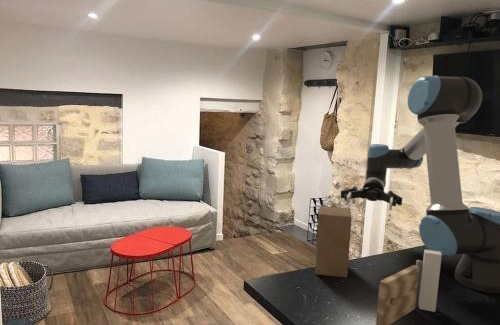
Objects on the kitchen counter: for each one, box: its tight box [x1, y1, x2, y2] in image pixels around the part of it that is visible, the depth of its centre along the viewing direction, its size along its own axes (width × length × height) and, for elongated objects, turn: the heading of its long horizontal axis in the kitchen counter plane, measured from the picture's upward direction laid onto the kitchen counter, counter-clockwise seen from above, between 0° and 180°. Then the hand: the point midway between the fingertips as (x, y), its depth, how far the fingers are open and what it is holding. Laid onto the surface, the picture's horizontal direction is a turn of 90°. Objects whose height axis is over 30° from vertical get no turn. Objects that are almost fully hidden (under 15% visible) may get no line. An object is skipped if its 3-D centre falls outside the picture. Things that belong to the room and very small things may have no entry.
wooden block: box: [314, 205, 353, 278], centre depth 129 cm, size 10×10×20 cm
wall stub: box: [415, 249, 443, 313], centre depth 107 cm, size 6×2×16 cm, turn 70°
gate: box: [375, 264, 419, 325], centre depth 102 cm, size 16×3×12 cm, turn 130°
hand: (368, 203), depth 130 cm, fingers open, 13 cm apart
